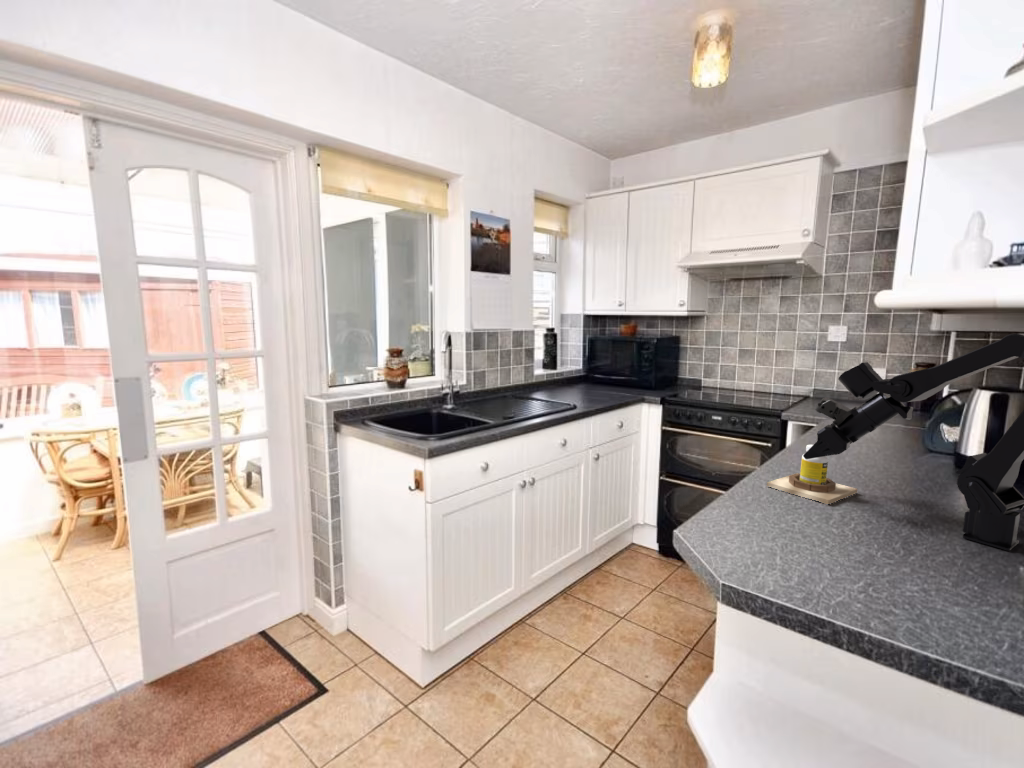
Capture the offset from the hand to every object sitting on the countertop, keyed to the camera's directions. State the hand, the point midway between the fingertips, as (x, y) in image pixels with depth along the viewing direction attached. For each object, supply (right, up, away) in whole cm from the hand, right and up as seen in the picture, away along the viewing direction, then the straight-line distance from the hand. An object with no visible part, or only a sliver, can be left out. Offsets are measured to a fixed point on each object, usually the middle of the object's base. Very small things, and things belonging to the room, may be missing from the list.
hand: (809, 453), depth 118 cm
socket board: (+1, -9, +1) cm, 9 cm away
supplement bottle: (+1, -8, 0) cm, 8 cm away
